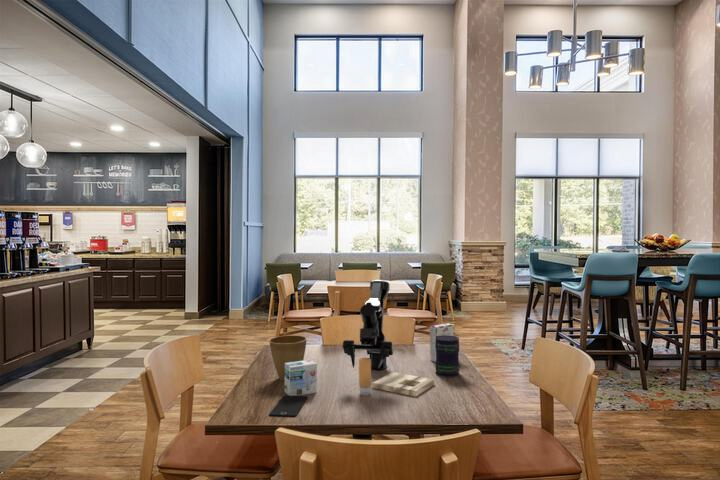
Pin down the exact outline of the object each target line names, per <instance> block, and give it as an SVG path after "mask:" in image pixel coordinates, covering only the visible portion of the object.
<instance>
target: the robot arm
mask: <svg viewBox="0 0 720 480" xmlns="http://www.w3.org/2000/svg"><path fill="white" fill-rule="evenodd" d="M369 284H370V285H369V291H370V294H369V298H368V300H367V301H365V304H364V305H362V306H361V307H360V310H359V311H360V315H361V320H362V321H361V322H362V323H363V325H362V327H361V328H360V329H359V342H360V343H355V340H354V339H345V340H343V342H342V349H343V352H344V354H346V355H347V356H349V357H350V359H351V365H352V368H355V365H356V364H355V363H356V353H355V352H356V350H365V351H366V355H367V356H368V355H369V358H370V359H371V370H376V371H382V370H384V369H386V368H388V365H387V358H388V357H390V356H393V355H394V345H393V342H392V341H391V340H386V336H385V335H384V332H383V326H384V311H385V300H386V299H387V298H388V297H389V292H390V290H391V288H390V287H391V285H390V282H388V281H386V280H385V281H384V280H382V279H373V280H371V281H370V282H369Z"/></svg>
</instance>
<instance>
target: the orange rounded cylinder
mask: <svg viewBox="0 0 720 480" xmlns="http://www.w3.org/2000/svg"><path fill="white" fill-rule="evenodd" d="M358 386H359V395H361V396H362V397H364V396H365V397H366V396H370V395H371V392H372V391H371V386H372V369H371V359H370V357H360V358H358Z"/></svg>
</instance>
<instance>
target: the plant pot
mask: <svg viewBox="0 0 720 480" xmlns="http://www.w3.org/2000/svg"><path fill="white" fill-rule="evenodd" d="M268 341H269V347H270V352H271V359H272V362H273V365H274V368H275V371H276V373H277V377H278V378H279V380H280V381H284V382H285V363H289V362H296V361H304V360H305V353H306V347H307V346H306V345H307V337H306V336H303V335H297V334H296V335H295V334H291V335H289V334H288V335H280V336H275V337H272V338H270V339H269V340H268Z"/></svg>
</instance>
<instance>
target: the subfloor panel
mask: <svg viewBox="0 0 720 480" xmlns="http://www.w3.org/2000/svg"><path fill="white" fill-rule="evenodd" d="M434 385H435V379H434V378H429V377H425V376H424V377H423V376H422V377H421V376H419V375H417V376H416V375H412V374H411V375H410V374H406V373H400V372H394V371H392V372H390V373H389V374H386V375H385V376H383V377H381V378H379V379H377V380H374V381H373V382H372V389H377V390H381V391H387V392H391V393H395V394H399V395H407V396H411V397H418V396H419V395H421V394H422V393H423V392H425V391H427V390H428V389H430V388H431V387H433V386H434Z"/></svg>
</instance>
